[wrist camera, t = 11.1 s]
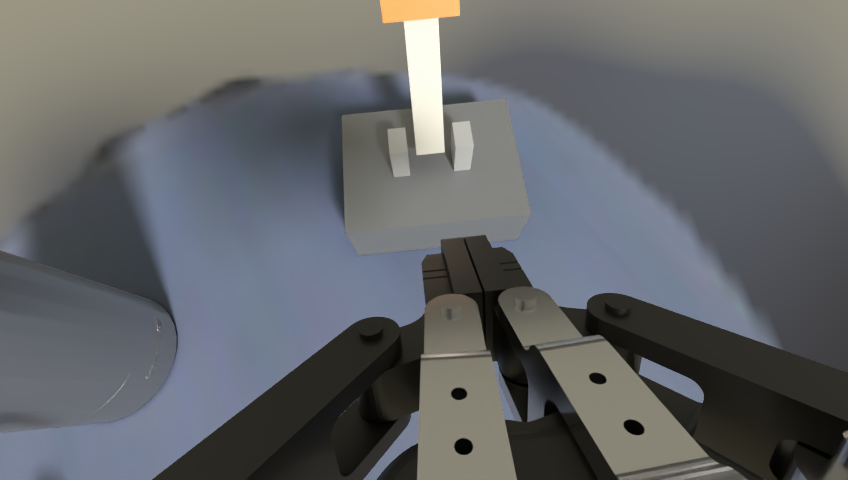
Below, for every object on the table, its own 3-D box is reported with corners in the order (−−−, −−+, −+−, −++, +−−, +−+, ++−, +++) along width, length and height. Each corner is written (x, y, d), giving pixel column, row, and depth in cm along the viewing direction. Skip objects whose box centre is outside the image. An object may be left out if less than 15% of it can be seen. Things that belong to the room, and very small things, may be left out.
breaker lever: (399, 159, 28) (377, -19, 21) (399, 145, 30) (378, -23, 23) (462, 153, 28) (458, -27, 21) (457, 139, 30) (453, -30, 23)
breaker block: (358, 255, 32) (334, 215, 25) (354, 151, 36) (332, 87, 28) (517, 239, 32) (541, 193, 25) (497, 136, 36) (513, 69, 28)
